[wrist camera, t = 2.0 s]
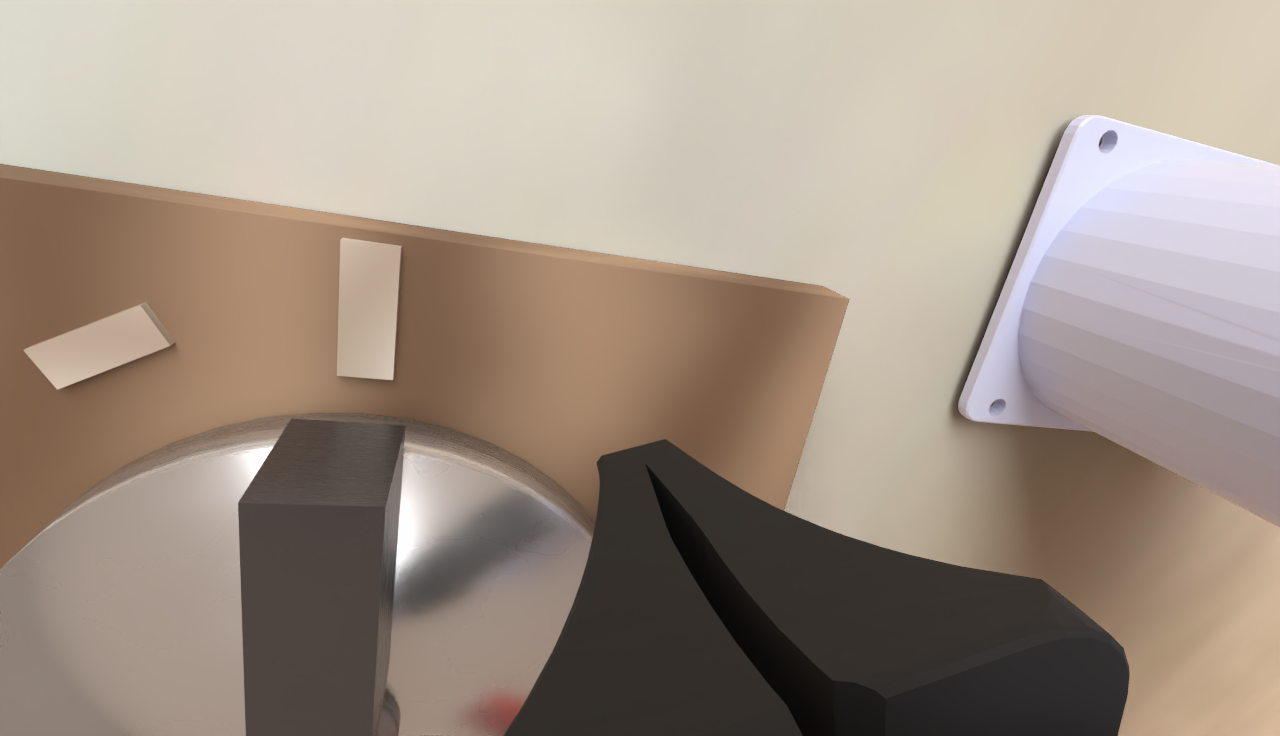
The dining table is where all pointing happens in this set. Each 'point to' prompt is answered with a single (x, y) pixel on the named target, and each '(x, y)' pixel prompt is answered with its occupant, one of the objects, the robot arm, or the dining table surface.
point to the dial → (294, 587)
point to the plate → (374, 340)
